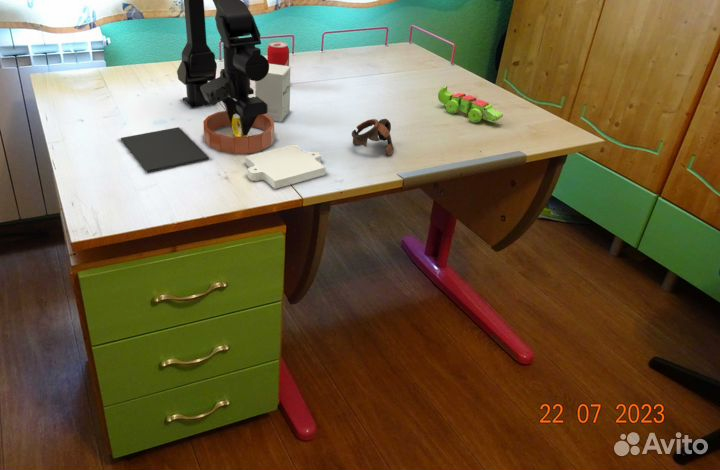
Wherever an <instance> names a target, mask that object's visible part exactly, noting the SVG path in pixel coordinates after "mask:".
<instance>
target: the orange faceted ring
mask: <svg viewBox="0 0 720 470" xmlns="http://www.w3.org/2000/svg"><path fill="white" fill-rule="evenodd" d="M202 122H203V123H202V124H203V125H202V126H203V139H204V141H203V142H204V143H205V144H206V145H207V146H208V147H209V148H210V149H213V150H214V151H218V152H220V153H227V154H234V155H238V154H241V155H242V154H245V155H246V154H252V153H253V154H254V153H259V152H261V151H264V150H265V149H268V148H269V147H271V146H273V145H272V144H273V143H275V140H276V139H275V133H276V132H275V121H273V119H271V118H270V117H269V116H268V115H266V114H262V115H258V116H257V118H256V119H255V121H254V123H253V125H252V127H251V128H256V129H260V130H262V131H263V132H260V133H257V134H252V135H247V136H246V137H236V136H232V135H226V134H221V133H218V132H216V130H219V129H222V128H226V127H227V128H228V127H232V125H231V123H230V120H229V117H228V114H227V111H226V110H221V111H217V112H214V113H211V114H210V115H208V116H206V118H205V119H204V120H203V121H202ZM237 125H238V126H240V124H239V121H237Z"/></svg>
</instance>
